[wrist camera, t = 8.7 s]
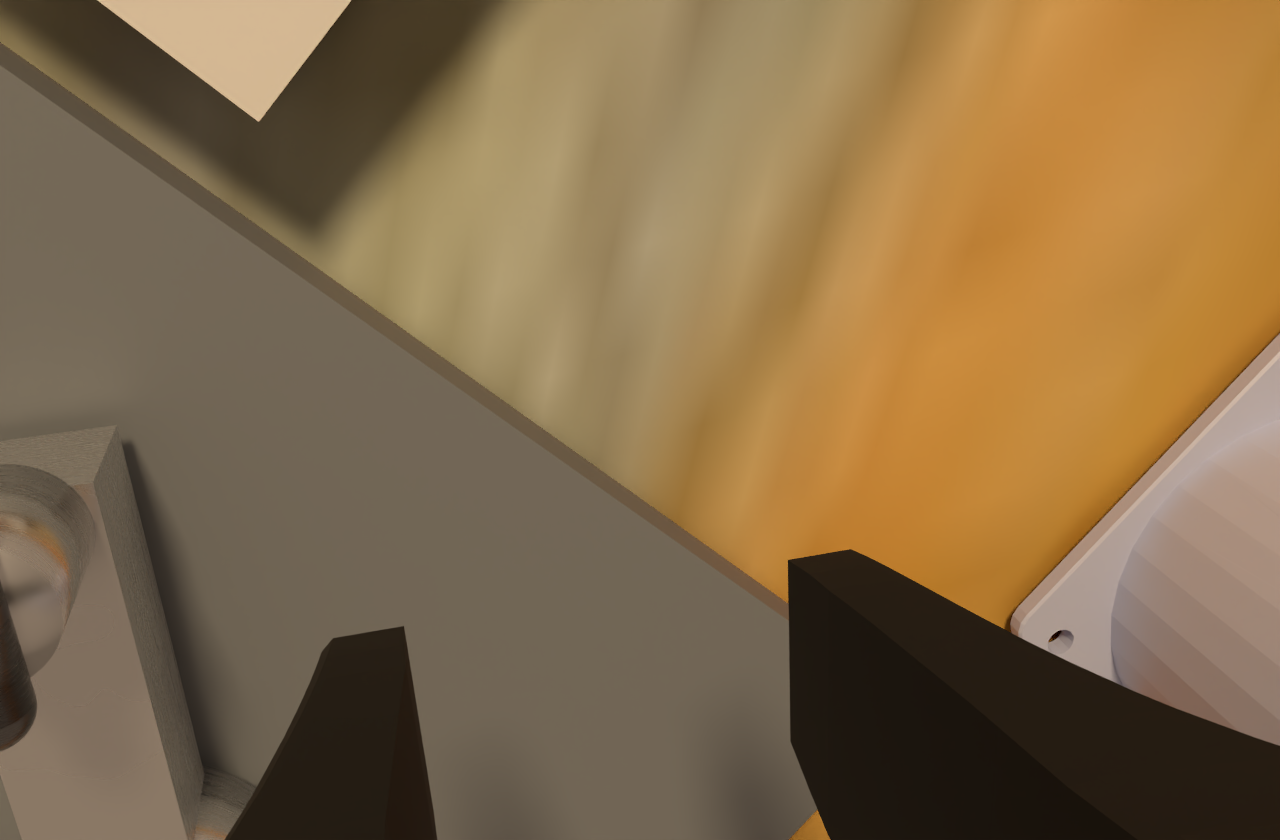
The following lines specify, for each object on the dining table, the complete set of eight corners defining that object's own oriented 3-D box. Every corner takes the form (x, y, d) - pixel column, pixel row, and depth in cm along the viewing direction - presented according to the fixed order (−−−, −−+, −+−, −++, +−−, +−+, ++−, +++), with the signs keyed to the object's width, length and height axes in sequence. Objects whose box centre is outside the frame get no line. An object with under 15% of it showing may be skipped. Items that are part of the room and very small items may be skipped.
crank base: (890, 676, 23) (916, 712, 22) (301, 1299, 25) (299, 1356, 24) (-46, 9, 15) (-73, 16, 14) (-735, 990, 18) (-797, 1052, 17)
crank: (313, 934, 20) (307, 1200, 16) (57, 988, 20) (-17, 1281, 15) (182, 342, 16) (129, 494, 12) (-149, 384, 15) (-326, 560, 11)
